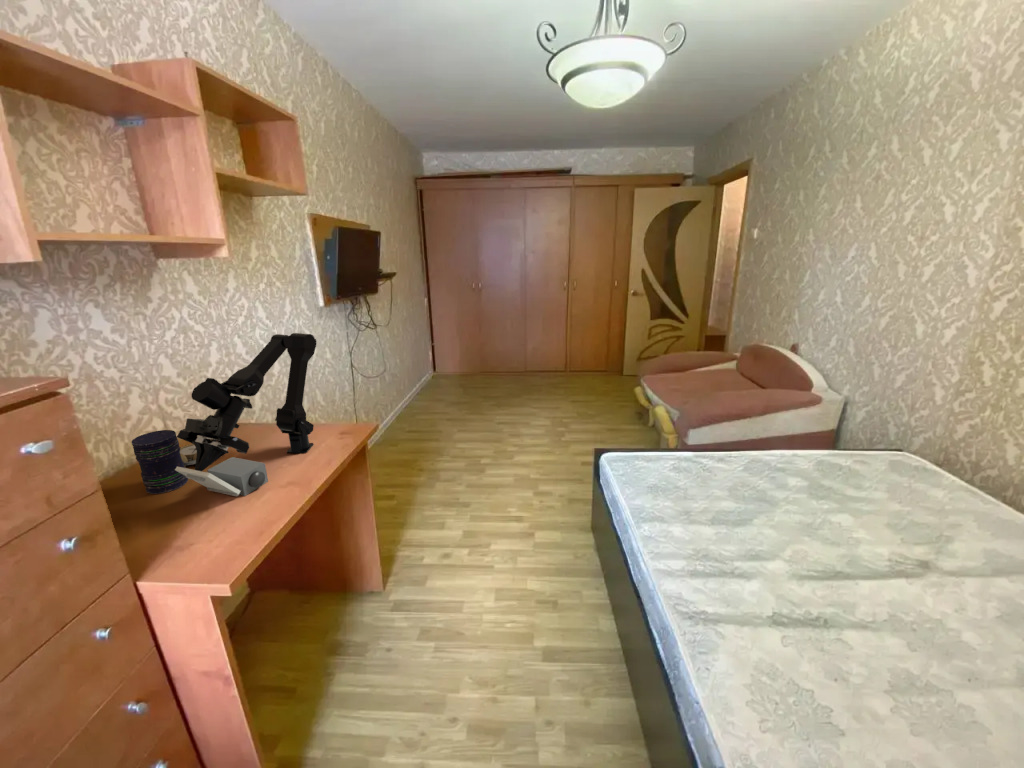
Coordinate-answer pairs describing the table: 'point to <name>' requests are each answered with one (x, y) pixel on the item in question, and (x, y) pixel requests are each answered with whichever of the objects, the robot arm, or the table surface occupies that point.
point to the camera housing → (241, 474)
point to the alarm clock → (188, 454)
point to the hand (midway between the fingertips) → (197, 472)
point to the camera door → (209, 481)
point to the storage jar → (159, 461)
